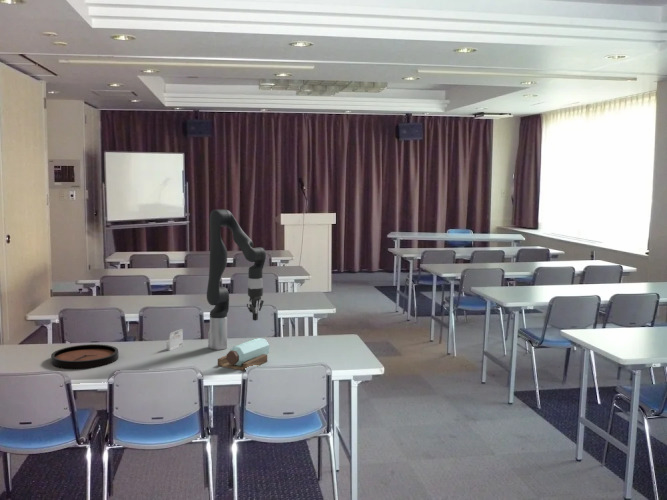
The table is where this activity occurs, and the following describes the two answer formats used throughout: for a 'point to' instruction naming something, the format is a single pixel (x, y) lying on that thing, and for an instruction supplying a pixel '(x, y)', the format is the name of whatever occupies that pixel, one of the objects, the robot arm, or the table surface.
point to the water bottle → (247, 351)
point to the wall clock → (84, 356)
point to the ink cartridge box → (175, 340)
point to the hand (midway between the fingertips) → (255, 320)
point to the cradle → (255, 361)
